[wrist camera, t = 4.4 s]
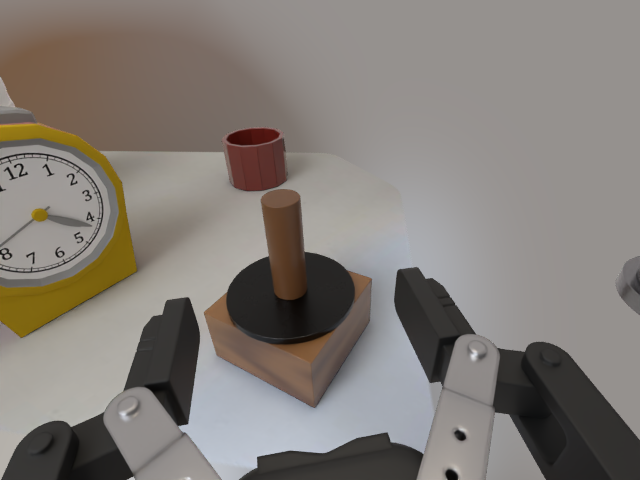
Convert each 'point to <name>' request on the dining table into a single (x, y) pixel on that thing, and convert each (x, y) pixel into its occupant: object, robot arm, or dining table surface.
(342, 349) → the brown wooden block
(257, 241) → the dining table surface
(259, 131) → the pot
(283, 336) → the lid
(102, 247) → the alarm clock
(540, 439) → the robot arm
